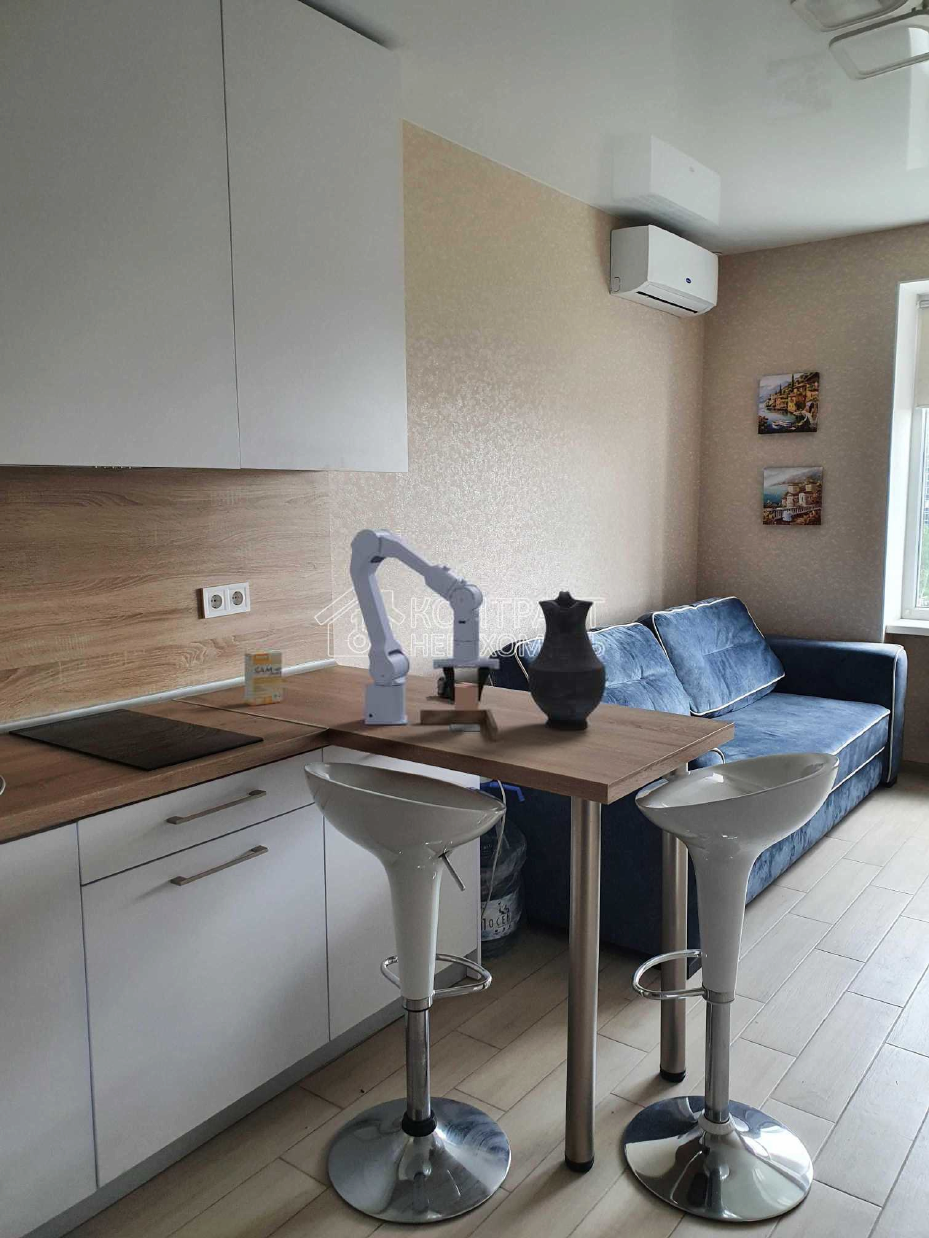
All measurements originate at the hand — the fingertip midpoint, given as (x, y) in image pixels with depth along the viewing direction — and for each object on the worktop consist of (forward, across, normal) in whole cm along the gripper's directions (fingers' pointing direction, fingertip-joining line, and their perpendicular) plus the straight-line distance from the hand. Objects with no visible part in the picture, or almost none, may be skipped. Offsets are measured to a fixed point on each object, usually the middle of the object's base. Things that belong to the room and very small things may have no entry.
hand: (465, 700), depth 206 cm
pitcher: (+6, +23, +4) cm, 24 cm away
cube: (+2, 0, 0) cm, 2 cm away
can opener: (+7, 0, +32) cm, 33 cm away
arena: (+6, -2, -4) cm, 7 cm away
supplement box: (+6, -49, +30) cm, 58 cm away
